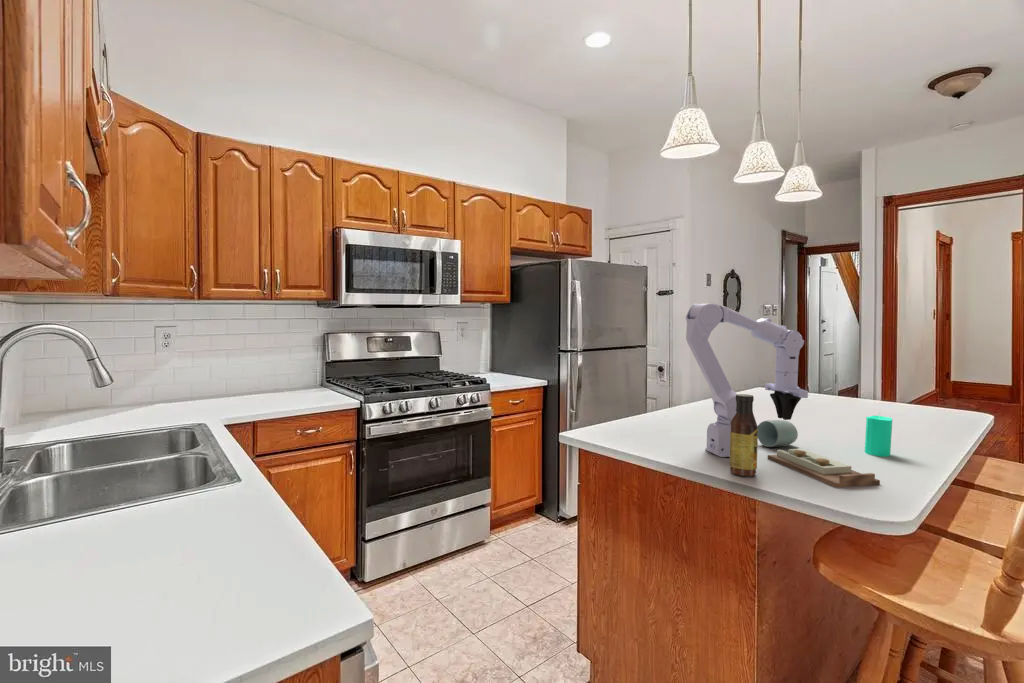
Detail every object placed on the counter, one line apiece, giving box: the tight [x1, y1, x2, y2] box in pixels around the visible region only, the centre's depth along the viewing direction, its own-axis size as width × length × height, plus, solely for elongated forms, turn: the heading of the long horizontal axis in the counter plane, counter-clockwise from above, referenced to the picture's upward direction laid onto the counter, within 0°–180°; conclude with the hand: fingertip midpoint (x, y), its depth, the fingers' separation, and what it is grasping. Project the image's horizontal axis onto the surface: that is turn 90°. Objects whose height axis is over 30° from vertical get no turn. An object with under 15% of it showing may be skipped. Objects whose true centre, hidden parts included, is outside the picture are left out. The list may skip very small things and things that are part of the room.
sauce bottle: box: [729, 393, 759, 477], centre depth 126 cm, size 6×6×20 cm
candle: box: [864, 412, 893, 458], centre depth 145 cm, size 6×6×12 cm
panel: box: [776, 448, 852, 474], centre depth 132 cm, size 8×16×2 cm, turn 11°
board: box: [767, 450, 881, 489], centre depth 129 cm, size 12×23×4 cm, turn 11°
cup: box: [757, 419, 799, 448], centre depth 153 cm, size 8×8×10 cm
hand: (784, 418), depth 145 cm, fingers closed
